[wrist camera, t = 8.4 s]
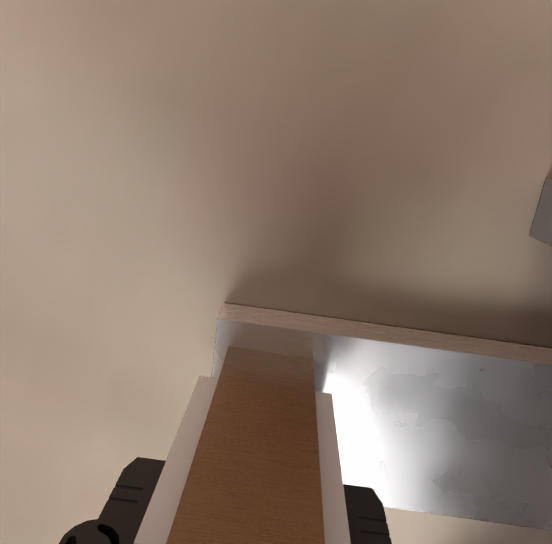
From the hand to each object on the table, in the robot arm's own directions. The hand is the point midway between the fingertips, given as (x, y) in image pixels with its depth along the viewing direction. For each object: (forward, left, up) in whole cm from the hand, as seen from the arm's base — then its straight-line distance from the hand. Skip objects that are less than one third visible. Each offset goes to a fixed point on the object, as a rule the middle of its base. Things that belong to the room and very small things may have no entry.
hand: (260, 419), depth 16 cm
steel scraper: (+8, -1, -3) cm, 8 cm away
